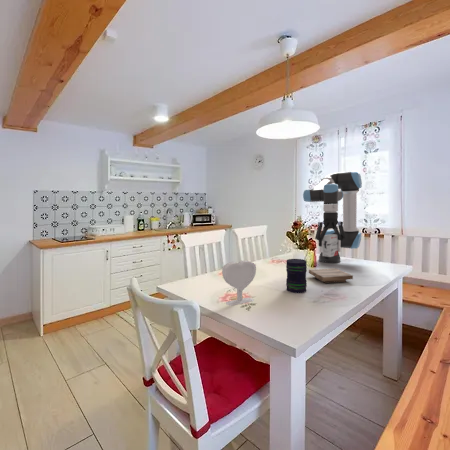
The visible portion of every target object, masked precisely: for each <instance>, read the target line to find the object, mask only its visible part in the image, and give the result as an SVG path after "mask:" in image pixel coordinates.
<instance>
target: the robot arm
mask: <svg viewBox="0 0 450 450" xmlns="http://www.w3.org/2000/svg"><path fill="white" fill-rule="evenodd" d="M362 183H363V182H362V176H361V173H360V172H359V171H356V170H351V171H350V170H349V171H341V172H333V173H329V174H328V175H326V176H324V177H323V178H322V179H321V180H320V182H319V183H318V184H317V185H315V186H314V187H313V188H312V189H305V190H304V191H303V194H302V196H303V197H302V199H303V201H304V202H305V203H306V202H307V203H318V202H319V203H320V202H321V203H322V202H323V209H322V210H323V211H322V212H323V214H322V215H323V221H320V222H319V221H318V222H317V229H316V234H315V236H314V239H315V240H317V241H318V246H319V252H320V253H319V256H318V261H319V262H321V263H329V264H331V263H332V264H334V263H341V255H340V253H341V252H342V251H341V249H353V250H355V249H358V248H359V247H360V246H361V240H362V232H361V231H360V230H359V228H358V227H357V205H358V204H357V200H358V199H357V195H358V194H357V193H358V192H360V189H362V187H363V186H362V185H363V184H362ZM341 200H342V217H343V218H342V219H343V220H342V221H338V220H339V219H338V218H339V212H338V211H339V202H340V201H341ZM337 225H338V226H337ZM329 234H337V235H338V255H336V256H332V257H327V256H322V253H323V250H324V241H322V240H323V238H324V236H325V235H329Z"/></svg>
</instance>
